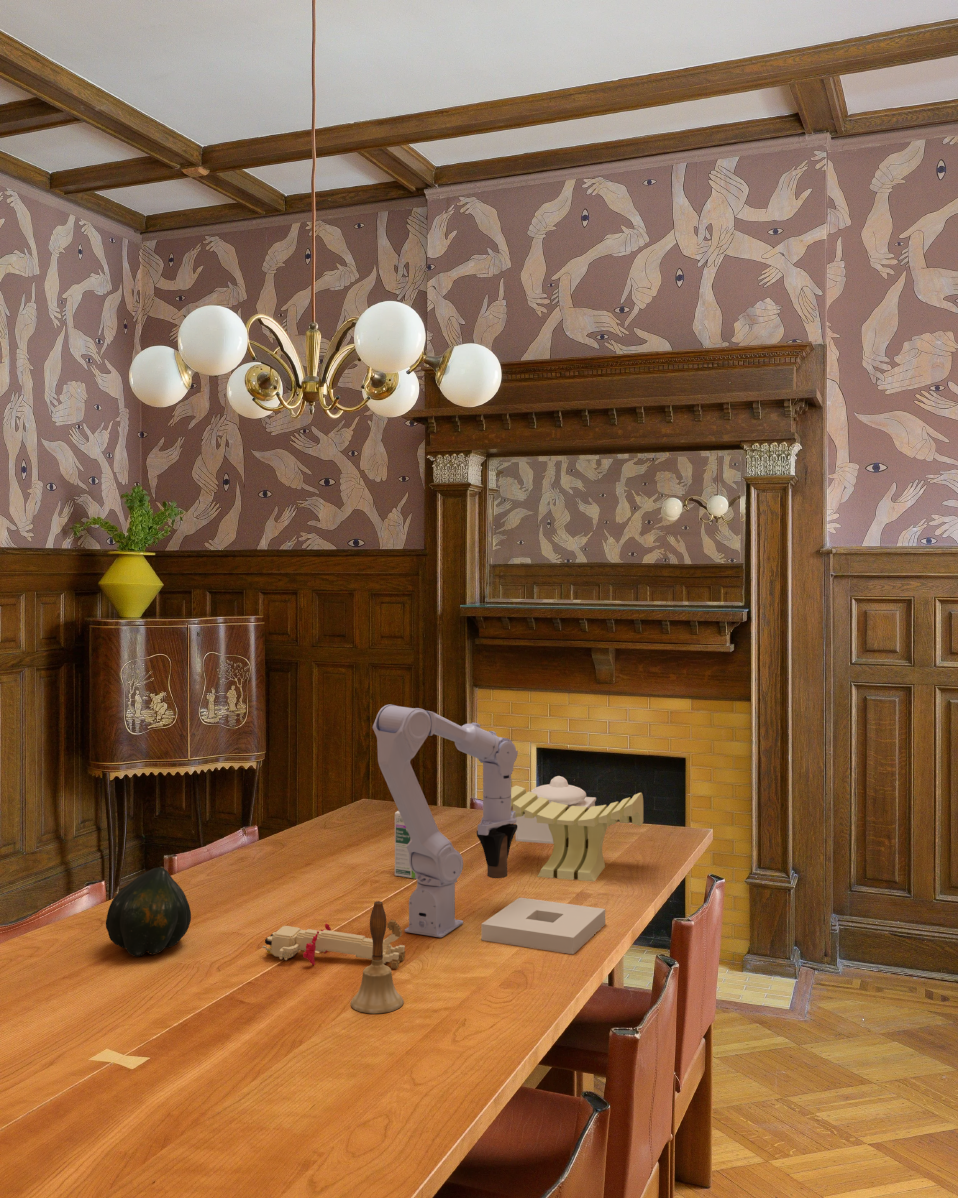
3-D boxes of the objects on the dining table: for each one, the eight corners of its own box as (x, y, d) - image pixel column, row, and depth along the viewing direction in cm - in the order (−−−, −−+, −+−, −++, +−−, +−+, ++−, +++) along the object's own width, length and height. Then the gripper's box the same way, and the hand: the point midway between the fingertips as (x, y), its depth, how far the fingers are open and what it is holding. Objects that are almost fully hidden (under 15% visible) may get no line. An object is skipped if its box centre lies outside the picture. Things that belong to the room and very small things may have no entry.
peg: (502, 879, 208) (502, 839, 208) (484, 877, 210) (484, 837, 210) (510, 874, 212) (510, 835, 212) (492, 872, 213) (492, 833, 213)
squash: (86, 936, 179) (147, 866, 182) (94, 914, 193) (150, 849, 196) (151, 985, 182) (210, 916, 184) (154, 959, 196) (209, 895, 199)
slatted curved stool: (643, 866, 243) (643, 789, 243) (632, 884, 228) (632, 803, 228) (519, 856, 252) (519, 783, 252) (500, 873, 237) (500, 795, 237)
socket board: (573, 954, 185) (573, 937, 185) (481, 940, 193) (481, 924, 193) (605, 924, 201) (605, 909, 201) (519, 912, 209) (519, 897, 209)
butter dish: (515, 842, 267) (515, 780, 267) (532, 826, 284) (532, 768, 284) (583, 846, 262) (582, 783, 262) (596, 830, 279) (596, 771, 279)
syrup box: (393, 876, 235) (393, 812, 235) (407, 869, 240) (407, 807, 240) (415, 879, 233) (415, 814, 232) (428, 873, 238) (428, 809, 238)
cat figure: (407, 962, 185) (275, 941, 190) (410, 913, 185) (278, 894, 190) (391, 983, 176) (253, 961, 181) (395, 932, 175) (256, 911, 180)
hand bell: (377, 989, 169) (376, 891, 169) (414, 1002, 164) (414, 901, 164) (339, 1005, 163) (339, 903, 163) (377, 1019, 158) (376, 914, 158)
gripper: (500, 804, 202) (500, 874, 202) (529, 791, 215) (529, 856, 215) (468, 801, 205) (468, 870, 205) (497, 788, 218) (498, 853, 218)
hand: (497, 863), depth 211 cm, fingers closed on peg, 4 cm apart
